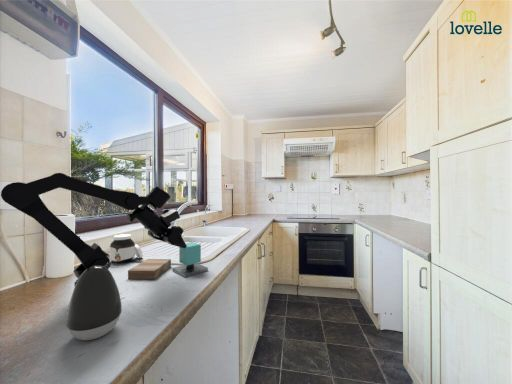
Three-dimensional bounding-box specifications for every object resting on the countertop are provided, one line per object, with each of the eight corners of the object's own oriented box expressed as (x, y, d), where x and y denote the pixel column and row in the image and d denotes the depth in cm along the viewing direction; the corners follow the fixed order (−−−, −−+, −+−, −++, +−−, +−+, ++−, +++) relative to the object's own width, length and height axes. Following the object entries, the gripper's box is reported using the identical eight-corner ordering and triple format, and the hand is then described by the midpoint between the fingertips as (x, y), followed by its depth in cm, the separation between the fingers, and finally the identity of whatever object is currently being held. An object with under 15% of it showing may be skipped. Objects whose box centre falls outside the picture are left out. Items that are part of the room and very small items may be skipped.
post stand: (184, 277, 84) (184, 258, 84) (172, 270, 91) (172, 253, 91) (207, 270, 91) (207, 253, 91) (194, 265, 98) (194, 248, 98)
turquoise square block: (187, 265, 87) (187, 247, 87) (179, 262, 91) (179, 244, 91) (200, 262, 91) (200, 244, 91) (192, 258, 96) (192, 242, 96)
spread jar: (106, 262, 102) (106, 236, 102) (127, 255, 113) (127, 232, 113) (127, 265, 99) (127, 238, 99) (147, 257, 110) (147, 233, 110)
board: (154, 279, 83) (154, 270, 83) (128, 278, 83) (127, 270, 83) (170, 266, 97) (170, 259, 97) (148, 265, 97) (147, 258, 97)
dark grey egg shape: (130, 319, 57) (130, 258, 57) (104, 347, 47) (104, 273, 47) (89, 319, 57) (88, 259, 57) (53, 349, 46) (52, 274, 46)
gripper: (177, 203, 78) (205, 231, 86) (155, 201, 91) (181, 226, 99) (154, 229, 72) (187, 256, 80) (134, 223, 85) (163, 247, 93)
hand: (179, 245), depth 88 cm, fingers open, 9 cm apart
